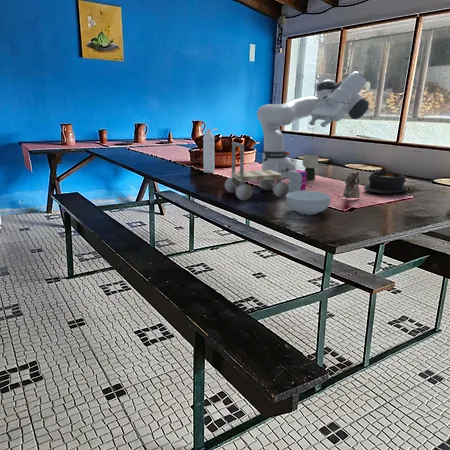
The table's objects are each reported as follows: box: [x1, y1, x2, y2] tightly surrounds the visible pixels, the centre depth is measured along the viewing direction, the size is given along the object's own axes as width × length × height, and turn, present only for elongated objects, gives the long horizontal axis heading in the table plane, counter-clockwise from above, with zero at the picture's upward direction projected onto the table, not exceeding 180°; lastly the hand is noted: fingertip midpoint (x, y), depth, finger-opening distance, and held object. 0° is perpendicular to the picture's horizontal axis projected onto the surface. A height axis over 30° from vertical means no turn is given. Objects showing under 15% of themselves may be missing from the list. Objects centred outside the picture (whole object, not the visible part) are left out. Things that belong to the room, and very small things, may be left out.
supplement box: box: [287, 169, 307, 194], centre depth 185 cm, size 6×6×12 cm
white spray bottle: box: [202, 128, 218, 174], centre depth 238 cm, size 9×6×25 cm
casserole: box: [363, 171, 408, 194], centre depth 196 cm, size 25×19×8 cm
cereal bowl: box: [285, 190, 331, 216], centre depth 160 cm, size 17×17×7 cm
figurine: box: [342, 171, 360, 199], centre depth 181 cm, size 7×7×12 cm
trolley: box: [224, 141, 289, 201], centre depth 185 cm, size 25×16×24 cm, turn 110°
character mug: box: [302, 154, 319, 180], centre depth 221 cm, size 11×7×13 cm, turn 122°
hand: (316, 125), depth 180 cm, fingers open, 8 cm apart
